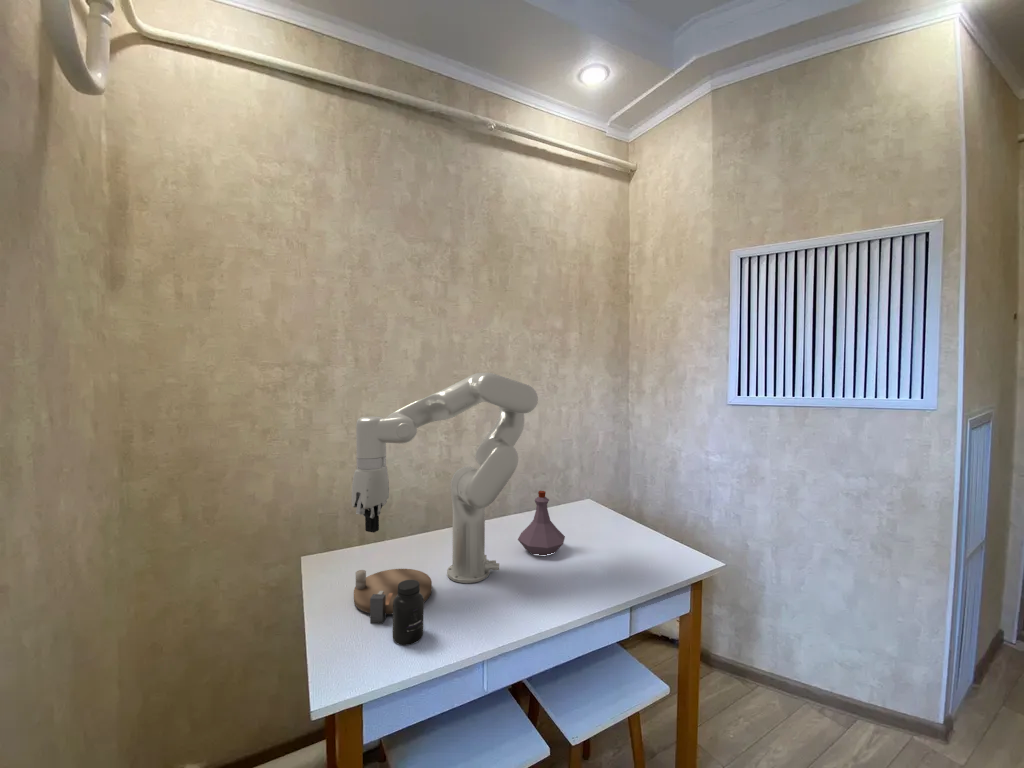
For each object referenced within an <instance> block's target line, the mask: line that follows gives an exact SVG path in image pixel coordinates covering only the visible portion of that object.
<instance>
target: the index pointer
mask: <svg viewBox="0 0 1024 768" xmlns="http://www.w3.org/2000/svg"><path fill="white" fill-rule="evenodd" d="M386 615H387V614H386V594H384V591H379V593H378V594H373V595H372V597H371V598H370V613H369V619H370V624H381V625H382V624H384V623H385V620H386V618H387V616H386Z"/></svg>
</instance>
